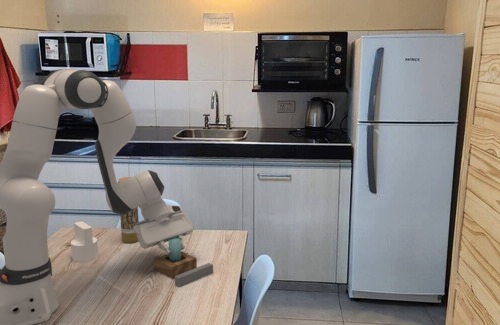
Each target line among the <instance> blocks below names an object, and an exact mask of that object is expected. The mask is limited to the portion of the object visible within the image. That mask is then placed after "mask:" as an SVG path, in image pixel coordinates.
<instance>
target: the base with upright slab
mask: <svg viewBox="0 0 500 325" xmlns="http://www.w3.org/2000/svg"><path fill="white" fill-rule="evenodd" d="M73 227H74V239H72V240H71V241H70V247H71V248H70V249H71V259H72V261H74V262H77V263H79V262H80V263H81V262H82V263H84V262H90V261H93V260H95V259H98V257H99V248H98V247H99V246H98V239H97V237H94V236H93V227H92V226H91V225H89V224H87V223H86V222H84V221H76V222H74V223H73Z"/></svg>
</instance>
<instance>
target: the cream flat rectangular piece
mask: <svg viewBox="0 0 500 325" xmlns="http://www.w3.org/2000/svg"><path fill="white" fill-rule="evenodd" d="M213 273H214V264H213V263H210V262H208V263H207V262H206V263H205V264H203V265H200V266H197V268H195V269H192V270H189V271H187V272H184V273H182V274H179V275H177V276H175V278H174V286H176V287H177V288H180V287H183V286H186V285H188V284H190V283H192V282H195V281H198V280H200V279H202V278H205V277H207V276H209V275H211V274H213Z"/></svg>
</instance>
